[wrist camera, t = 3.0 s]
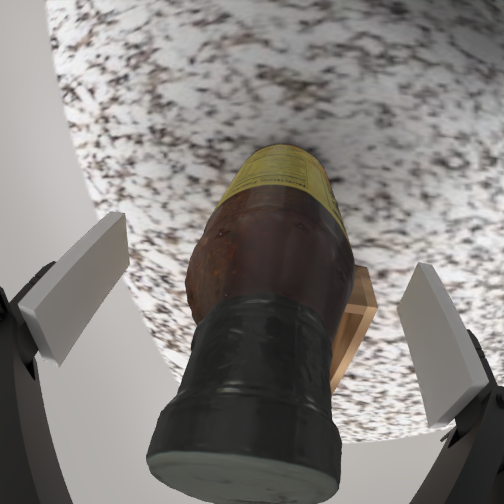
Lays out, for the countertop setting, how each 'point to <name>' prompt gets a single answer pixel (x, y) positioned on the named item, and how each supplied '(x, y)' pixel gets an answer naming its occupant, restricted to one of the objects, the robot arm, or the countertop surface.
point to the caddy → (352, 325)
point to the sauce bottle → (261, 342)
